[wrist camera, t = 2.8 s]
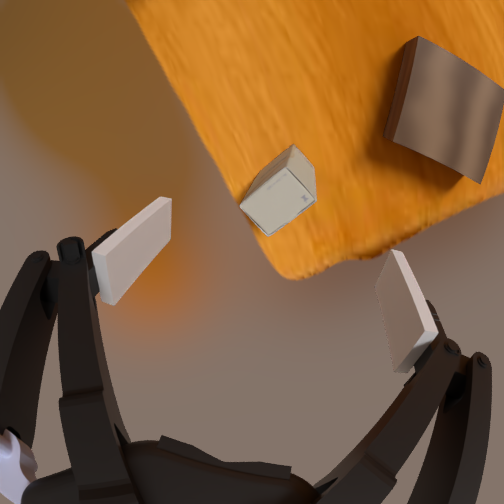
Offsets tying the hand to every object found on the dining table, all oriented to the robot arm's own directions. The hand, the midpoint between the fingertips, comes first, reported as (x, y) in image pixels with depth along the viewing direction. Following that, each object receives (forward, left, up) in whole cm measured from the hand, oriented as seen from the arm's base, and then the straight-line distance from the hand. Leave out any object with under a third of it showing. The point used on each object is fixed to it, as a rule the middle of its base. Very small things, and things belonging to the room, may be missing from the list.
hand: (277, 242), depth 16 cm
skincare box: (-1, -1, -22) cm, 22 cm away
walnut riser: (+17, +13, -23) cm, 31 cm away
